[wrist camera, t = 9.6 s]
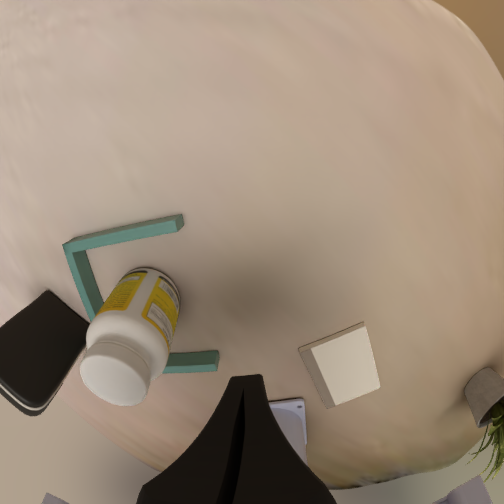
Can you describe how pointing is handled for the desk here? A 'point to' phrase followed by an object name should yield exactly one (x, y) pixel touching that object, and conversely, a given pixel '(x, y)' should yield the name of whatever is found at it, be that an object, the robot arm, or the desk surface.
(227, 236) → the desk surface
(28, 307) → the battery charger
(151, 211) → the desk surface
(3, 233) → the desk surface
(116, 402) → the supplement bottle
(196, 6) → the desk surface
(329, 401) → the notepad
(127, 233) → the bracket
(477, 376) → the house plant
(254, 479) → the robot arm
